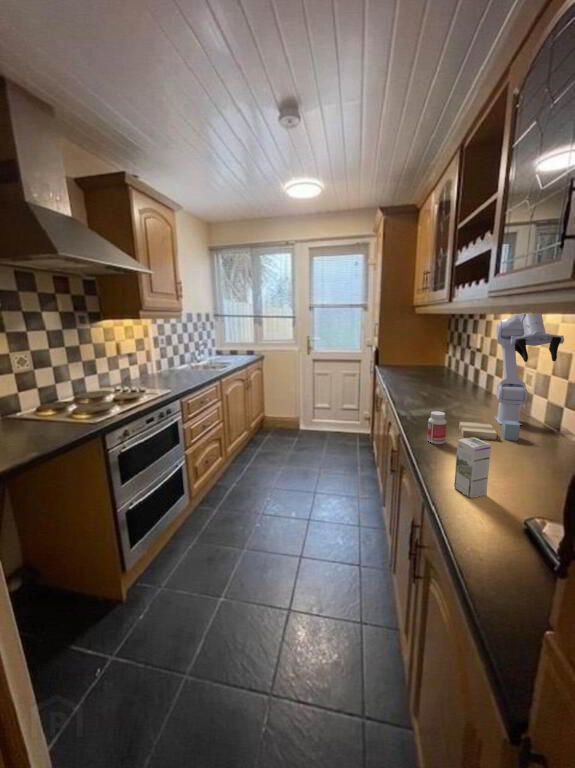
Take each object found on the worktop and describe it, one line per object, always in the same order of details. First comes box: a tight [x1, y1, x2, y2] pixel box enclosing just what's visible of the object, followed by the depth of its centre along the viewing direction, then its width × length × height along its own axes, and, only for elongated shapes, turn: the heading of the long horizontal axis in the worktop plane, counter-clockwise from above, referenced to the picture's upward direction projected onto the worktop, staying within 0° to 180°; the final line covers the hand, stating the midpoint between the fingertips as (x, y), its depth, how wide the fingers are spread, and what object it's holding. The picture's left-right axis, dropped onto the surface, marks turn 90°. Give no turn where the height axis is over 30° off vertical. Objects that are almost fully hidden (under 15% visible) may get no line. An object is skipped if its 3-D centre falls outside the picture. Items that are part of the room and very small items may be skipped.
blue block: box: [500, 420, 521, 441], centre depth 126 cm, size 4×4×6 cm
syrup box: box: [453, 437, 492, 498], centre depth 89 cm, size 6×6×14 cm
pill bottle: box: [426, 410, 447, 445], centre depth 123 cm, size 6×6×11 cm
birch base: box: [458, 421, 498, 441], centre depth 131 cm, size 11×11×2 cm
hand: (540, 359), depth 110 cm, fingers open, 7 cm apart
